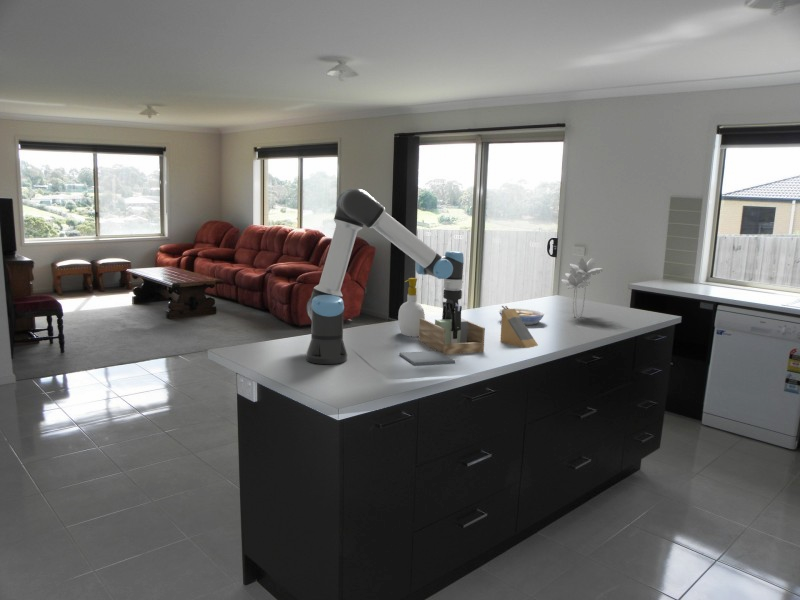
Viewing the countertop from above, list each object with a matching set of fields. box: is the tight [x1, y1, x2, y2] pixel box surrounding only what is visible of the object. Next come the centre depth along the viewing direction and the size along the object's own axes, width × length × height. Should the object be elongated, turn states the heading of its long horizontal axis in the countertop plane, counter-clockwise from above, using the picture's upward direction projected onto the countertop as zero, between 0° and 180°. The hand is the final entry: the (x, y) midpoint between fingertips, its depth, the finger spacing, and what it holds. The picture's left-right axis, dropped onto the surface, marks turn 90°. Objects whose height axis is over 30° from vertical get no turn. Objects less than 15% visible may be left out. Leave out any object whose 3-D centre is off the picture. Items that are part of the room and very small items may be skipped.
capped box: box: [434, 318, 468, 344], centre depth 247 cm, size 12×6×11 cm, turn 110°
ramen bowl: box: [498, 305, 545, 326], centre depth 300 cm, size 25×23×8 cm
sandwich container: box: [500, 308, 539, 349], centre depth 253 cm, size 9×15×15 cm, turn 40°
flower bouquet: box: [560, 256, 604, 318], centre depth 315 cm, size 17×34×21 cm
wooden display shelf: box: [418, 318, 486, 355], centre depth 247 cm, size 18×25×10 cm
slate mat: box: [399, 350, 456, 366], centre depth 225 cm, size 16×16×1 cm
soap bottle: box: [397, 277, 426, 338], centre depth 264 cm, size 14×9×26 cm, turn 45°
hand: (450, 344), depth 248 cm, fingers closed on capped box, 6 cm apart
